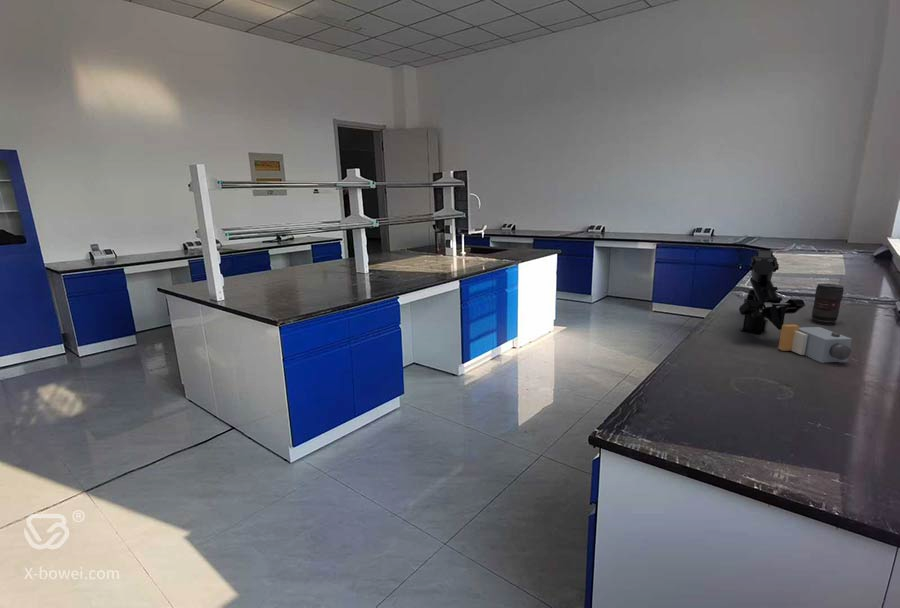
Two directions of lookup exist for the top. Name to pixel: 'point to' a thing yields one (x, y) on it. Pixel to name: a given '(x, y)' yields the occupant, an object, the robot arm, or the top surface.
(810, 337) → the grey knobbed box
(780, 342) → the side door
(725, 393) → the top surface
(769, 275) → the robot arm
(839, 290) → the camera lens
